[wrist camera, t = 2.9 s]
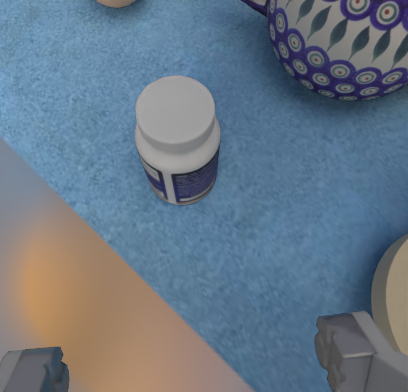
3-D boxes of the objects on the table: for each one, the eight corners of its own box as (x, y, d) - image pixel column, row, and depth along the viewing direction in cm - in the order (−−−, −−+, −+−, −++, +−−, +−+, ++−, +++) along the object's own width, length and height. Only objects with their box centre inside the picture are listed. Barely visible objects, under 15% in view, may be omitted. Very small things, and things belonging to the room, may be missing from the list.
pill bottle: (220, 150, 30) (231, 75, 21) (210, 212, 29) (216, 160, 19) (156, 139, 31) (138, 60, 21) (141, 200, 29) (114, 143, 19)
